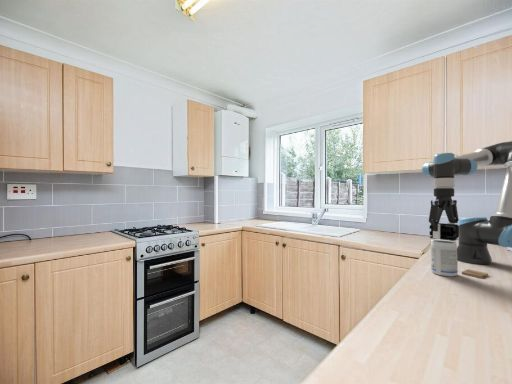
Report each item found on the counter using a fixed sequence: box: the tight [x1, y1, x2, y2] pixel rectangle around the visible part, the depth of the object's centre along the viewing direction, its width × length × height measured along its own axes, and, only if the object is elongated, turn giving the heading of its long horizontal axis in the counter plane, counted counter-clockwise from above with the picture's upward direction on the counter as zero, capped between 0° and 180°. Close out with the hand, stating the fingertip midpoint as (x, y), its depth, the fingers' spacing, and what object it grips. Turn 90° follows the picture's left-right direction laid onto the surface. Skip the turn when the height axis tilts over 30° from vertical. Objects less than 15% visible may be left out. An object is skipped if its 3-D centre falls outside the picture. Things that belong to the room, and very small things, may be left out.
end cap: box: [428, 222, 459, 242], centre depth 115 cm, size 10×7×7 cm
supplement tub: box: [430, 239, 459, 277], centre depth 115 cm, size 10×10×15 cm
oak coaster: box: [461, 268, 489, 279], centre depth 113 cm, size 7×7×1 cm
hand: (443, 237), depth 115 cm, fingers closed on end cap, 9 cm apart
